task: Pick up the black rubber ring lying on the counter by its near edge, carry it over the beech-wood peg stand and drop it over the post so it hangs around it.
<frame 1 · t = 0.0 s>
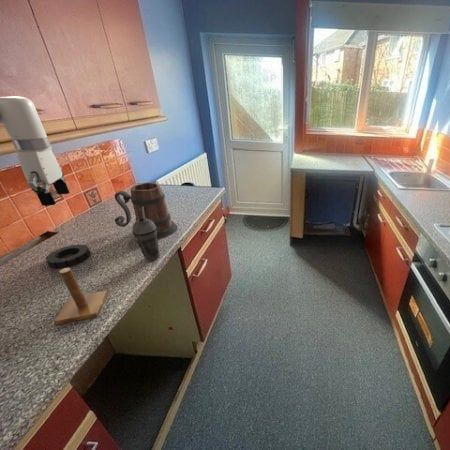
hand: (56, 199, 80), 22 cm above the countertop, tool pointing down, fingers open, 9 cm apart
tankard: (148, 230, 108), on the countertop
stand: (83, 308, 69), on the countertop
beverage cup: (152, 258, 91), on the countertop
ring: (70, 258, 88), on the countertop
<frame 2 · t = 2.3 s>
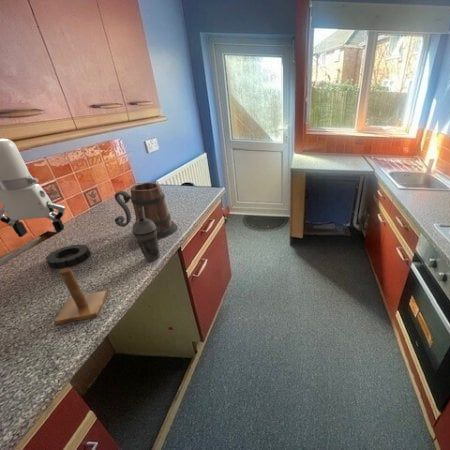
hand: (42, 232, 82), 11 cm above the countertop, tool pointing down, fingers open, 9 cm apart
nothing on the countertop moved.
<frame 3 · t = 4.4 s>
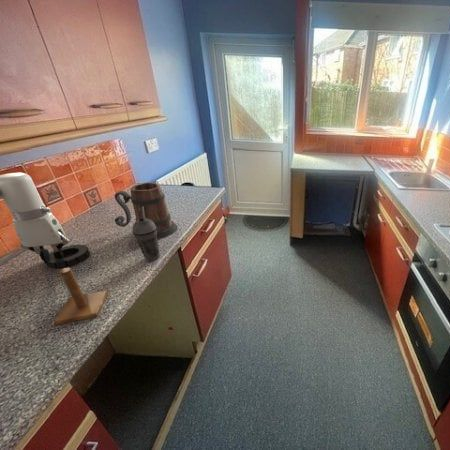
hand: (54, 260, 87), 0 cm above the countertop, tool pointing down, fingers closed on ring, 2 cm apart
ring: (69, 258, 88), on the countertop, touching gripper
everything else where it was.
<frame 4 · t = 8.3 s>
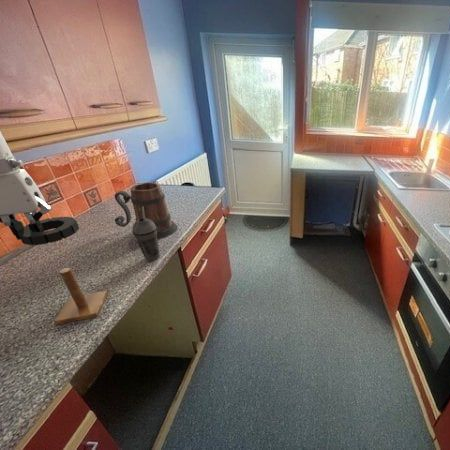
hand: (31, 235, 65), 19 cm above the countertop, tool pointing down, fingers closed on ring, 2 cm apart
ring: (51, 233, 67), point 19 cm above the countertop, touching gripper
everything else where it was.
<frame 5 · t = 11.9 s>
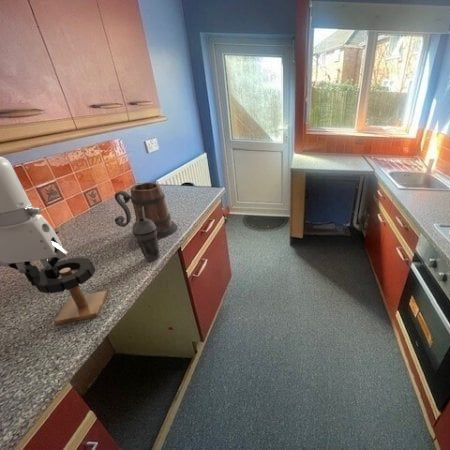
hand: (46, 280, 62), 11 cm above the countertop, tool pointing down, fingers closed on ring, 2 cm apart
ring: (67, 277, 64), point 11 cm above the countertop, touching gripper
everything else where it was.
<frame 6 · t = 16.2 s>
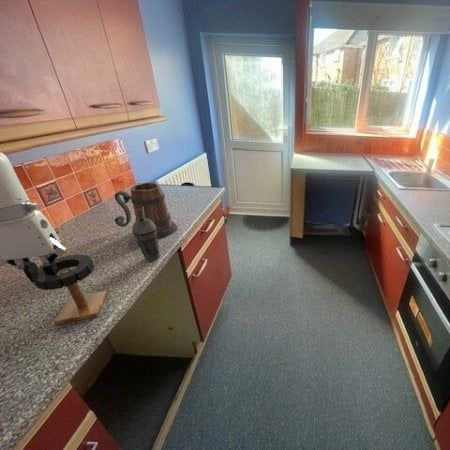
hand: (45, 277, 62), 12 cm above the countertop, tool pointing down, fingers closed on ring, 2 cm apart
ring: (66, 274, 63), point 12 cm above the countertop, touching gripper
everything else where it was.
when the fingers open (14 cm above the countertop, at t = 20.0 s): ring drops 12 cm, resting on stand.
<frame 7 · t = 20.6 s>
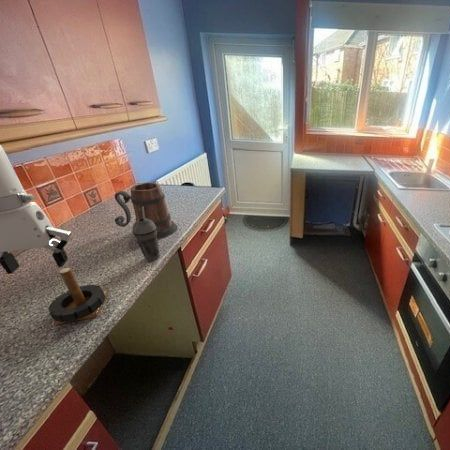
hand: (39, 266, 60), 15 cm above the countertop, tool pointing down, fingers open, 9 cm apart
ring: (80, 305, 68), point 1 cm above the countertop, touching stand
everything else where it was.
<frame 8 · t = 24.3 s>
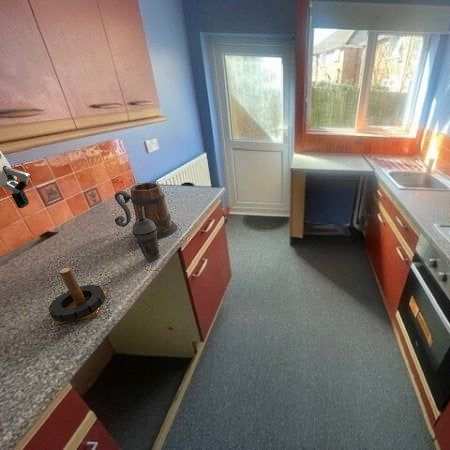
nothing on the countertop moved.
at the end: ring 0.5 cm from the stand (horizontally); ring point 1.2 cm above the countertop; the gripper is holding nothing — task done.
